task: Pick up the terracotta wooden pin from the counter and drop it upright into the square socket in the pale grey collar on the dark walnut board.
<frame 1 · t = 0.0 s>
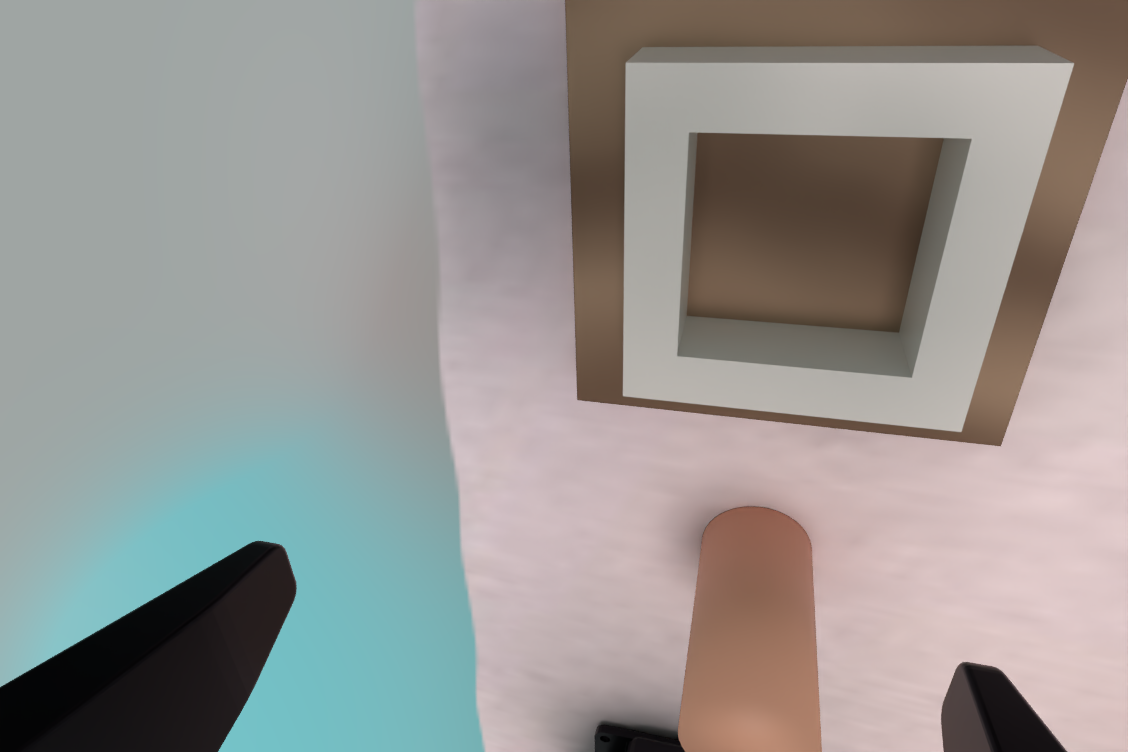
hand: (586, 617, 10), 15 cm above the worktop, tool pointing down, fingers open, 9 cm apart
terracotta pin: (755, 547, 27), on the worktop
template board: (802, 213, 21), on the worktop
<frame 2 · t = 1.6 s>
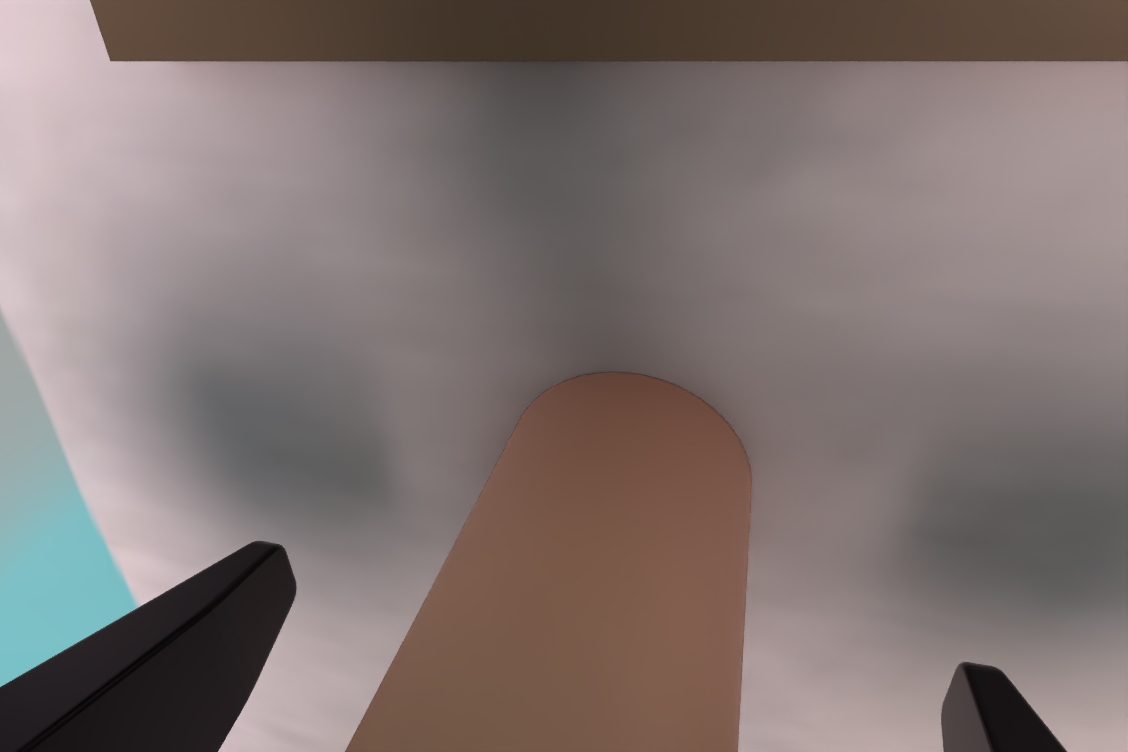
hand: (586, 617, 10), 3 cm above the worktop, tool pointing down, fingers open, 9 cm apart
terracotta pin: (626, 476, 12), on the worktop
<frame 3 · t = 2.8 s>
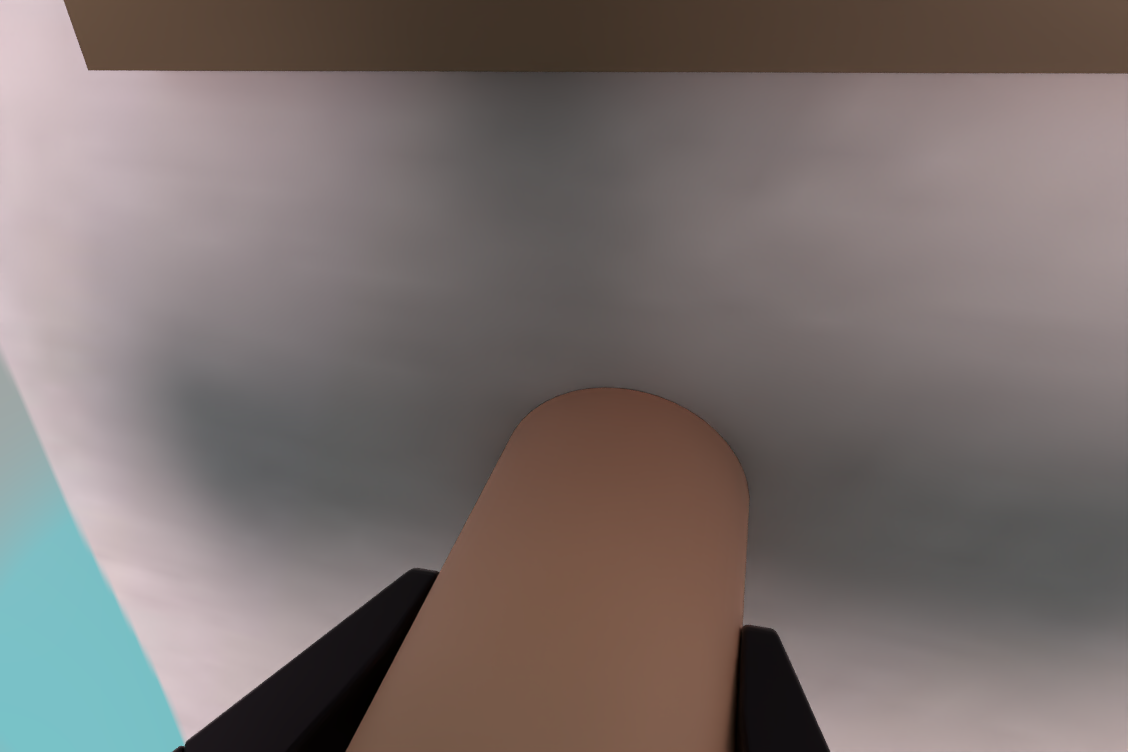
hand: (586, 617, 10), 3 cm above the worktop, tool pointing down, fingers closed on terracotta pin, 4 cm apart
terracotta pin: (621, 493, 12), on the worktop, touching gripper
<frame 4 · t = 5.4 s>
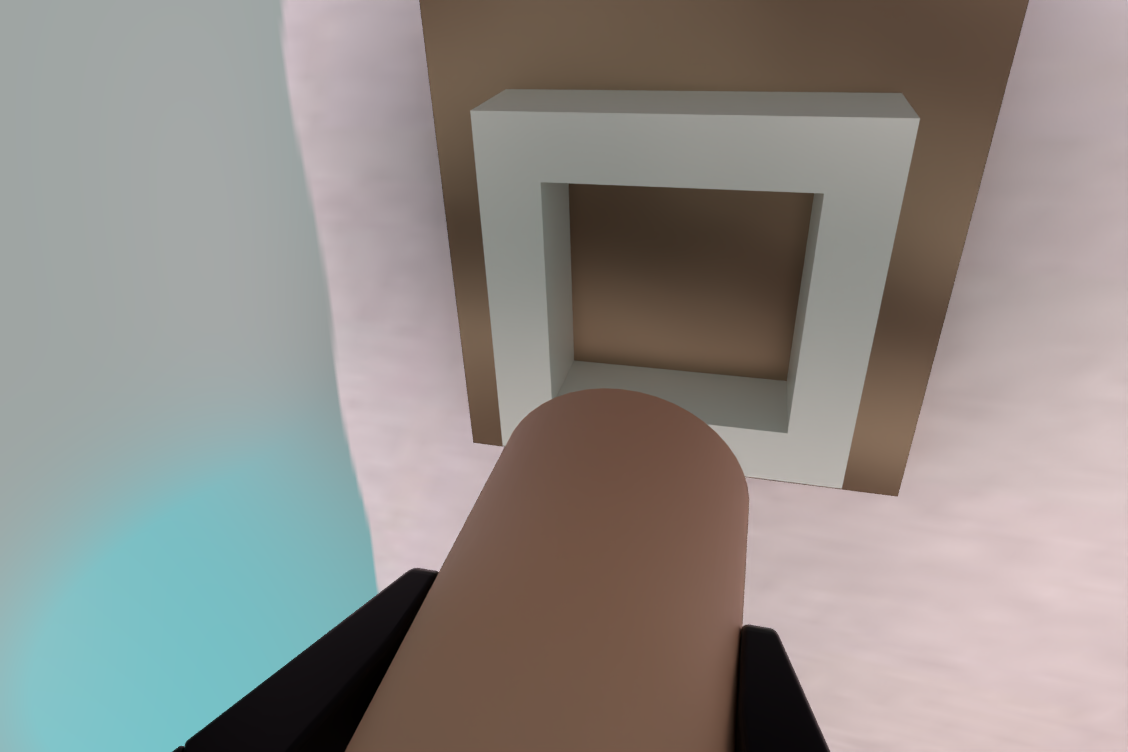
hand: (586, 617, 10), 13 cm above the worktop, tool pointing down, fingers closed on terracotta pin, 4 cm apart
terracotta pin: (620, 494, 12), point 10 cm above the worktop, touching gripper
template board: (686, 257, 20), on the worktop
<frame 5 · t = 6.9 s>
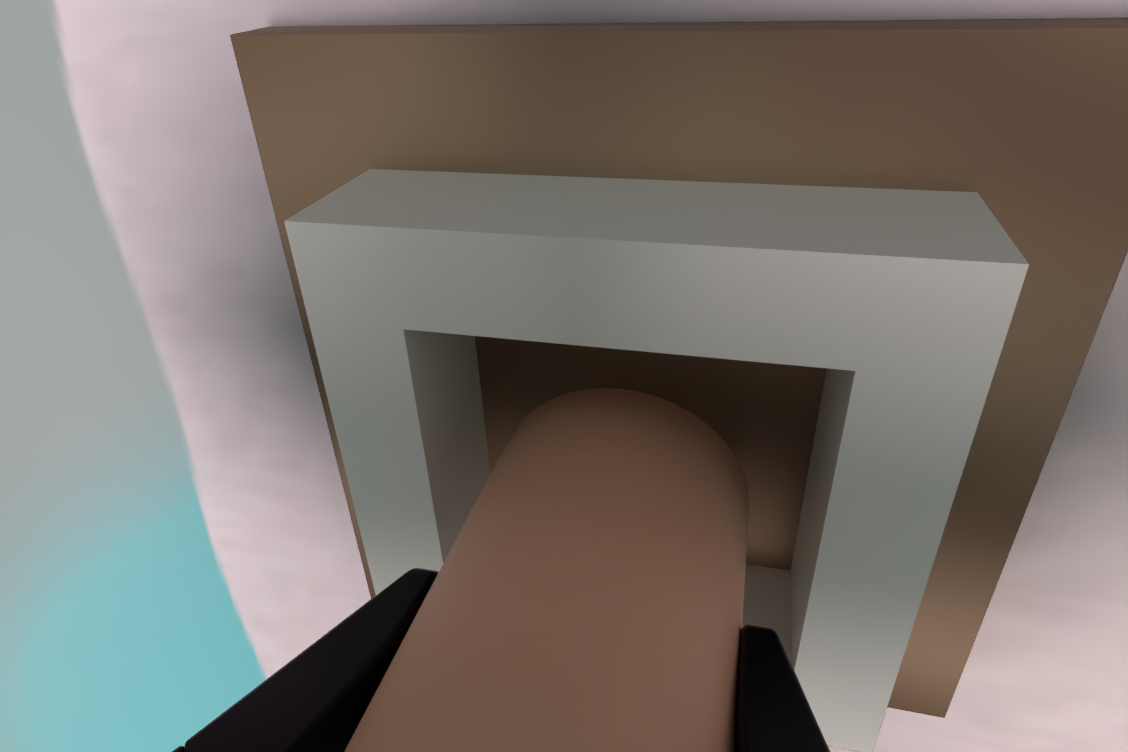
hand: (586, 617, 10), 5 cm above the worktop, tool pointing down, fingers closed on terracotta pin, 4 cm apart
terracotta pin: (620, 494, 12), point 3 cm above the worktop, touching gripper
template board: (647, 396, 14), on the worktop
when the fingers open (4 cm above the worktop, at t = 7.9 s): terracotta pin stays where it is, resting on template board.
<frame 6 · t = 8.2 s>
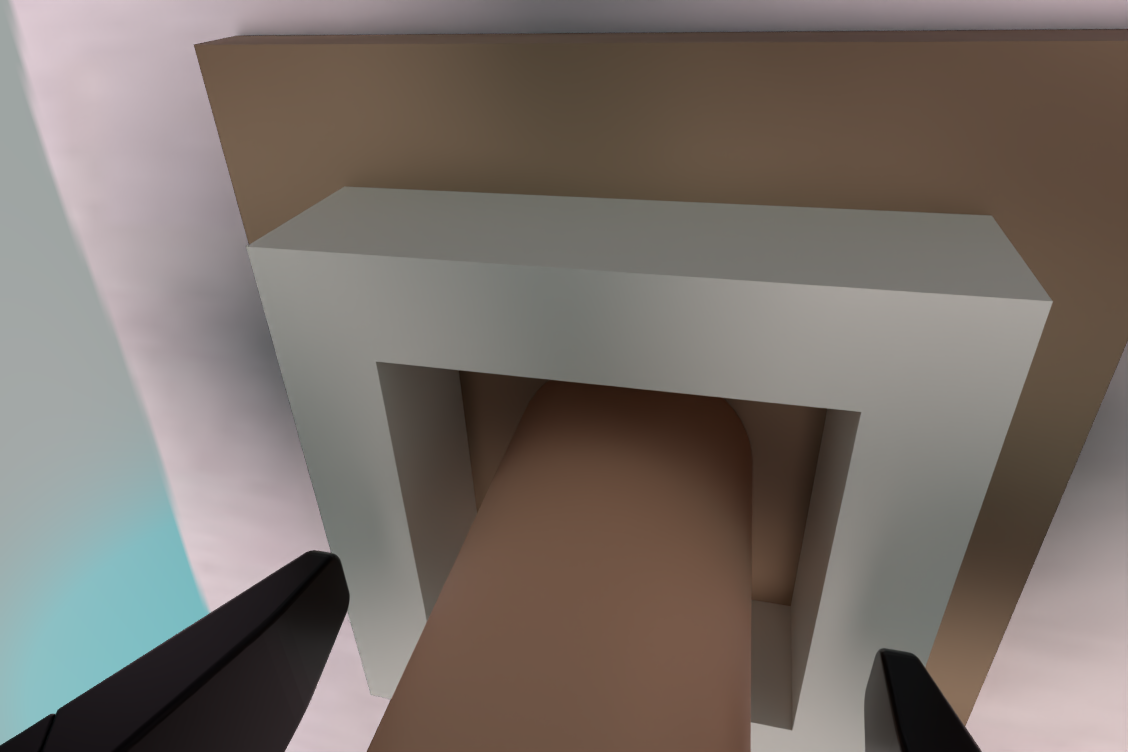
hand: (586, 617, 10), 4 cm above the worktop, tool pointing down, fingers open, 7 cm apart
terracotta pin: (631, 458, 12), point 1 cm above the worktop, touching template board
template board: (640, 423, 13), on the worktop
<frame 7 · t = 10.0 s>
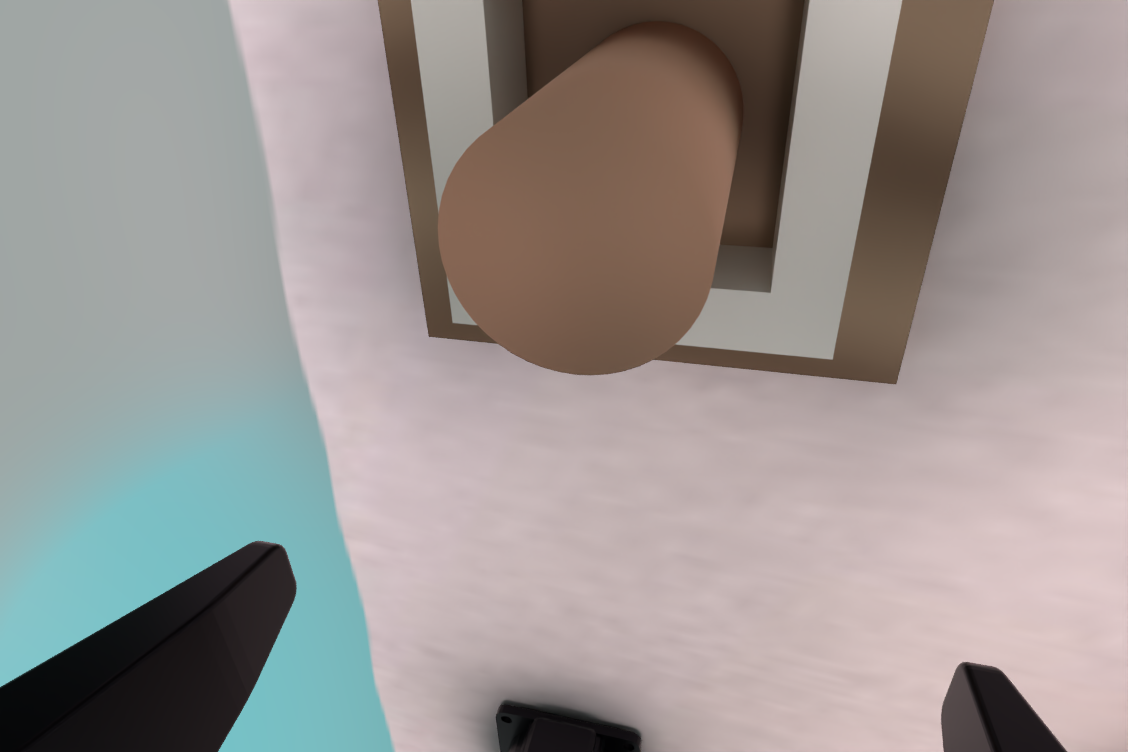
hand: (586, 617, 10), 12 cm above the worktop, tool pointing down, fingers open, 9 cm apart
terracotta pin: (654, 117, 17), point 1 cm above the worktop, touching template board
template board: (659, 107, 18), on the worktop
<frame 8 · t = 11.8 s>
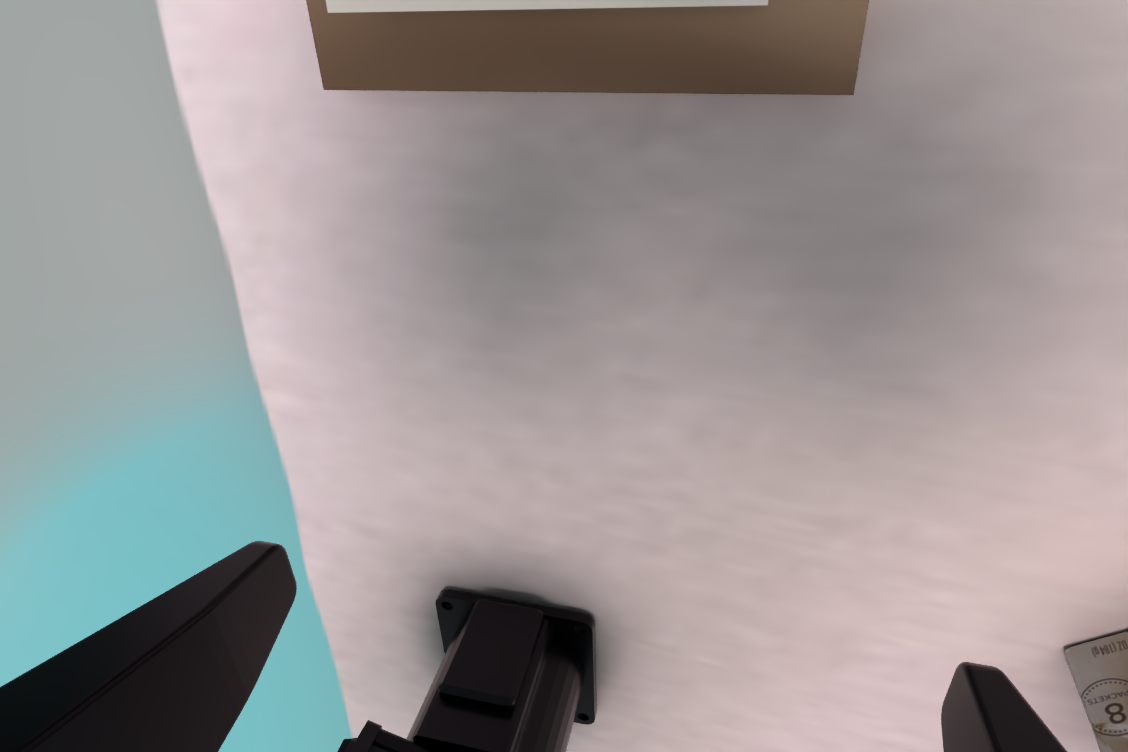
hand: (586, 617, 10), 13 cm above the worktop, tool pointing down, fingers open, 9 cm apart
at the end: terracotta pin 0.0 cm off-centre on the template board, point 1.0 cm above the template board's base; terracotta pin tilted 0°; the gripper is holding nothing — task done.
